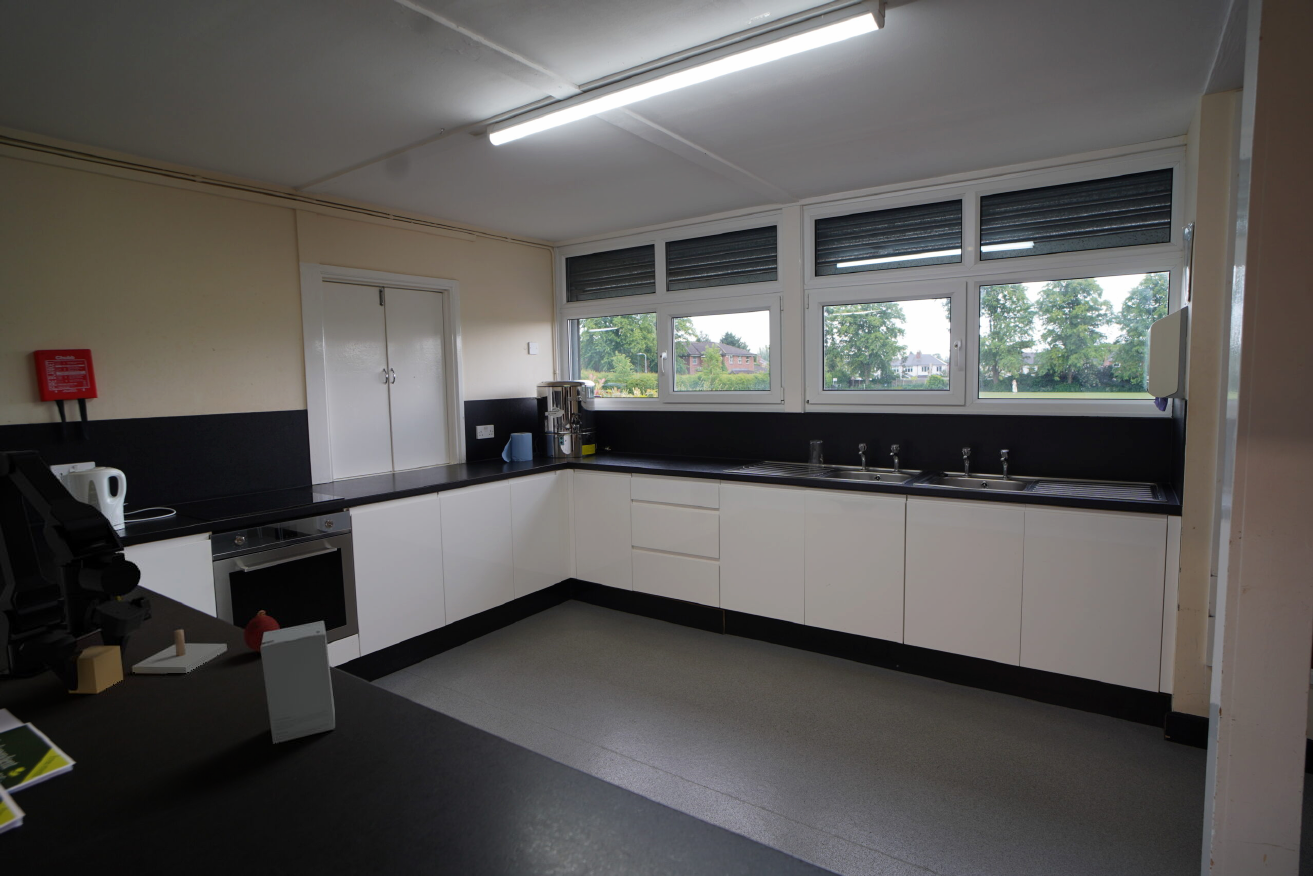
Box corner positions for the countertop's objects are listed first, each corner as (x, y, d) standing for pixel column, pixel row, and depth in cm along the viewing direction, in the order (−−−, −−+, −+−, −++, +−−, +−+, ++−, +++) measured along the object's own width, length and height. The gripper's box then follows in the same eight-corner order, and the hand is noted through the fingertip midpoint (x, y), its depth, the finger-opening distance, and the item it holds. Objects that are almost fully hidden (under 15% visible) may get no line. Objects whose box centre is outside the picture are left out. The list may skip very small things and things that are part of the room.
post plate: (132, 673, 119) (129, 641, 118) (177, 649, 129) (174, 620, 128) (186, 673, 118) (183, 642, 118) (227, 650, 128) (224, 620, 128)
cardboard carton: (69, 693, 112) (65, 658, 111) (96, 679, 117) (92, 645, 116) (97, 693, 112) (93, 658, 111) (123, 679, 117) (119, 646, 116)
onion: (265, 660, 123) (261, 617, 122) (238, 658, 124) (234, 616, 123) (288, 647, 129) (285, 606, 128) (262, 645, 130) (258, 605, 129)
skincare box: (334, 713, 103) (327, 618, 102) (335, 731, 98) (327, 632, 96) (271, 727, 100) (263, 629, 98) (268, 747, 94) (259, 644, 93)
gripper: (78, 609, 103) (89, 707, 104) (175, 572, 121) (183, 656, 123) (11, 608, 104) (23, 706, 105) (117, 572, 122) (126, 655, 124)
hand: (95, 679), depth 114 cm, fingers open, 8 cm apart
